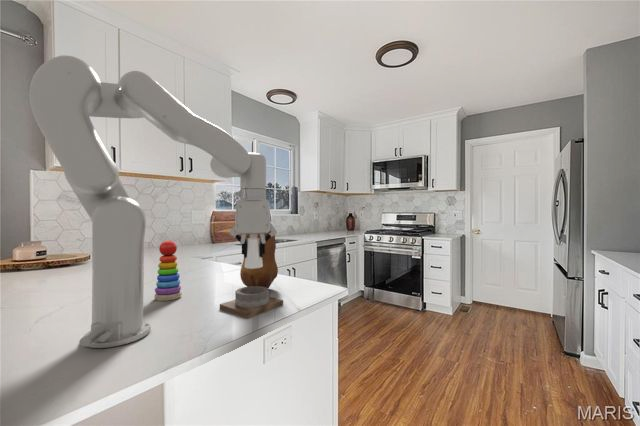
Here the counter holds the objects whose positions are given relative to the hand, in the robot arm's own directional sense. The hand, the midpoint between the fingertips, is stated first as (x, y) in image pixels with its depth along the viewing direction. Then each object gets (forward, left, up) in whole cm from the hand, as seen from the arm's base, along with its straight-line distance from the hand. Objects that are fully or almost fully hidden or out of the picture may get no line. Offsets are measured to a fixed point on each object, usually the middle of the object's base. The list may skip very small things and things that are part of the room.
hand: (253, 256), depth 86 cm
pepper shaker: (0, 0, -3) cm, 3 cm away
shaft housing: (0, 0, -15) cm, 15 cm away
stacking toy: (+12, +28, -15) cm, 34 cm away
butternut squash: (+17, -1, -15) cm, 23 cm away
